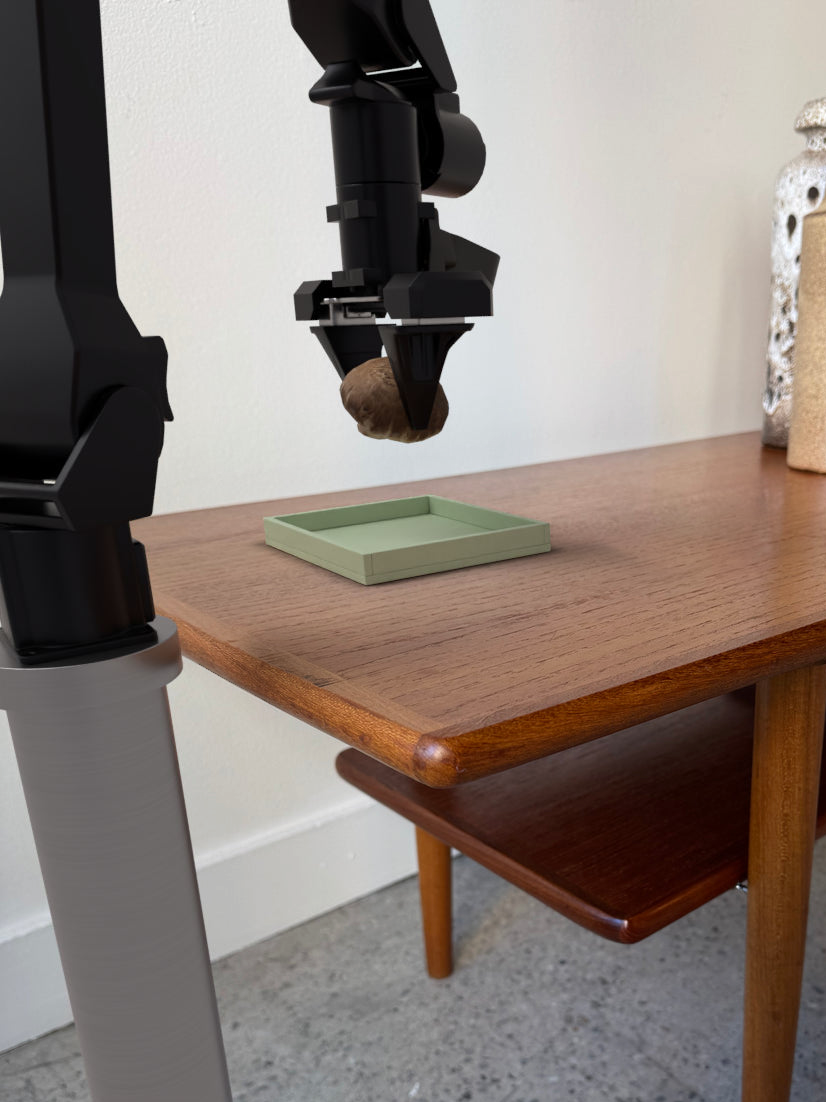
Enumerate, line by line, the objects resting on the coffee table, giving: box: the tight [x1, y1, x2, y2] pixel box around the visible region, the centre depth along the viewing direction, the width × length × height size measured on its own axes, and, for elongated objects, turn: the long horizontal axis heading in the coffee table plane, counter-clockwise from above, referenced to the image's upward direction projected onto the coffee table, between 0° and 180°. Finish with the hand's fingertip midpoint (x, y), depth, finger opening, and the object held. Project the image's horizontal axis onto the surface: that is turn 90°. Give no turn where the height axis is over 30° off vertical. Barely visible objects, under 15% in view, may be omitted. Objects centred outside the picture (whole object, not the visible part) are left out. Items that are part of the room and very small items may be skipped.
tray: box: [262, 493, 552, 586], centre depth 79 cm, size 15×17×2 cm
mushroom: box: [339, 355, 450, 445], centre depth 75 cm, size 8×8×6 cm
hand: (395, 426), depth 75 cm, fingers closed on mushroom, 7 cm apart
